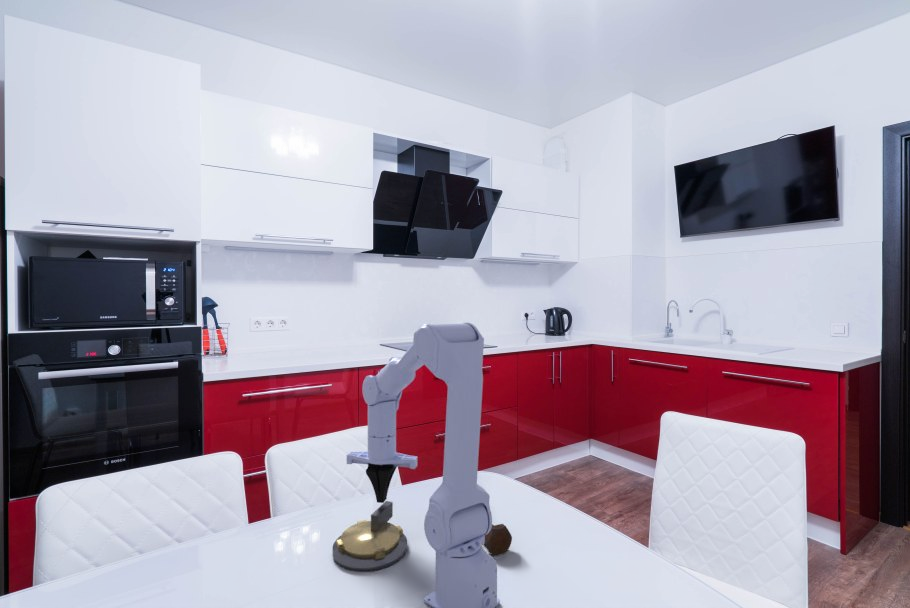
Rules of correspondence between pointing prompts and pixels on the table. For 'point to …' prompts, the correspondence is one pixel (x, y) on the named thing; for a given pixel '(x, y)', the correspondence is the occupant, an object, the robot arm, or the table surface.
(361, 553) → the tabbed brass dial
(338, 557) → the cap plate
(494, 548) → the bolt
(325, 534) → the table surface
